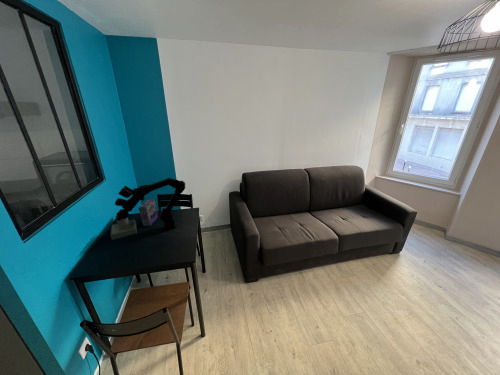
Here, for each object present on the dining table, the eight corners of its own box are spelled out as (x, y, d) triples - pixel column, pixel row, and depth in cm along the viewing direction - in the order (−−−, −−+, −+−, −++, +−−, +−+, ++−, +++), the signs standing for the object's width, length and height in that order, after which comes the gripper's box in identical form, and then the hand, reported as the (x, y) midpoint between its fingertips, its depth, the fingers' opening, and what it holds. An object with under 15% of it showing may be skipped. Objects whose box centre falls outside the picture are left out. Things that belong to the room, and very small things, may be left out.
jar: (130, 222, 137) (127, 212, 134) (127, 227, 131) (124, 216, 128) (120, 223, 135) (117, 213, 132) (117, 228, 130) (113, 218, 126)
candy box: (150, 226, 146) (145, 207, 140) (143, 226, 146) (137, 207, 140) (158, 216, 159) (154, 199, 153) (151, 216, 159) (147, 199, 153)
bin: (136, 223, 150) (135, 219, 148) (136, 233, 138) (135, 228, 136) (113, 229, 143) (112, 225, 141) (112, 240, 131) (110, 235, 129)
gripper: (126, 189, 134) (113, 205, 135) (116, 200, 117) (101, 218, 119) (141, 198, 138) (128, 213, 140) (133, 210, 122) (118, 227, 123)
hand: (119, 217), depth 130 cm, fingers closed on jar, 6 cm apart
